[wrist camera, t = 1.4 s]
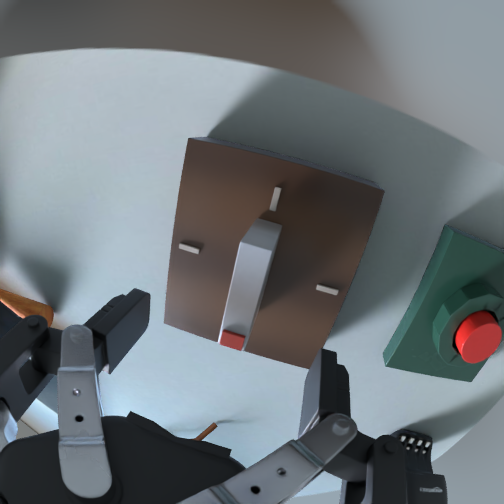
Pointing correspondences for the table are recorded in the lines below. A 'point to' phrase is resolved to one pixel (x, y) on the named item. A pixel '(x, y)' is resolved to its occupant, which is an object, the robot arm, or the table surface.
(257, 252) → the tap handle
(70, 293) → the table surface
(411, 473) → the battery charger
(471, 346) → the button
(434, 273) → the button box
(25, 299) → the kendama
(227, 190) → the block
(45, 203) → the table surface
